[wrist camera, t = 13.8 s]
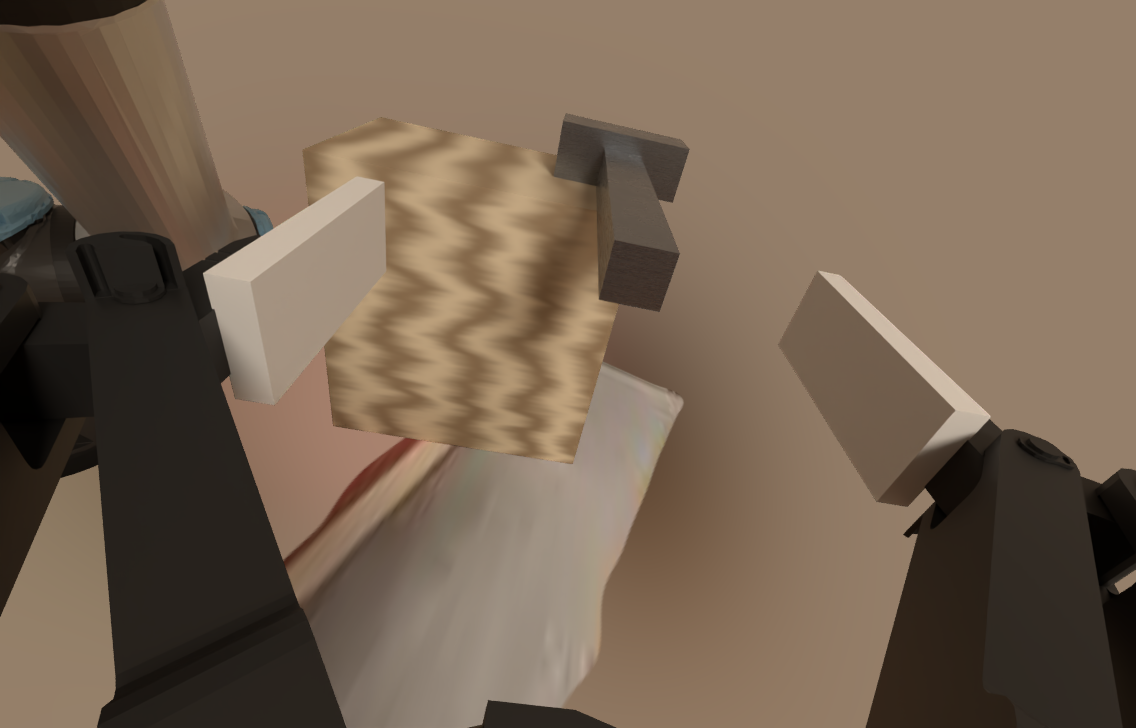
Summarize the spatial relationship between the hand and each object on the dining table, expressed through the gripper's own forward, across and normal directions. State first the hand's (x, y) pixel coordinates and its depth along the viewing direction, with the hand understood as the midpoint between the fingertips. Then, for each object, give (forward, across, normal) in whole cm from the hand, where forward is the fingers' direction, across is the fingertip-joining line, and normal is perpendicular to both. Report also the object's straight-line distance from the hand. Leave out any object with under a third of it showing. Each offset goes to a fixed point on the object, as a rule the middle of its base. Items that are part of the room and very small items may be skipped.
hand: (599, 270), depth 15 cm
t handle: (+24, +4, -6) cm, 25 cm away
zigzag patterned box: (+36, -8, -36) cm, 51 cm away
